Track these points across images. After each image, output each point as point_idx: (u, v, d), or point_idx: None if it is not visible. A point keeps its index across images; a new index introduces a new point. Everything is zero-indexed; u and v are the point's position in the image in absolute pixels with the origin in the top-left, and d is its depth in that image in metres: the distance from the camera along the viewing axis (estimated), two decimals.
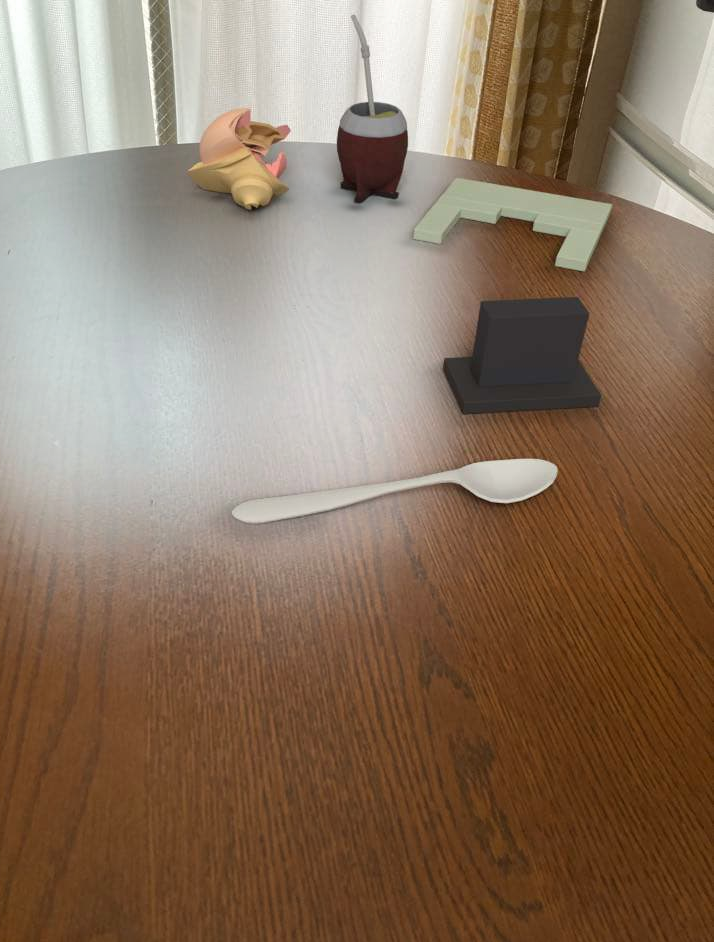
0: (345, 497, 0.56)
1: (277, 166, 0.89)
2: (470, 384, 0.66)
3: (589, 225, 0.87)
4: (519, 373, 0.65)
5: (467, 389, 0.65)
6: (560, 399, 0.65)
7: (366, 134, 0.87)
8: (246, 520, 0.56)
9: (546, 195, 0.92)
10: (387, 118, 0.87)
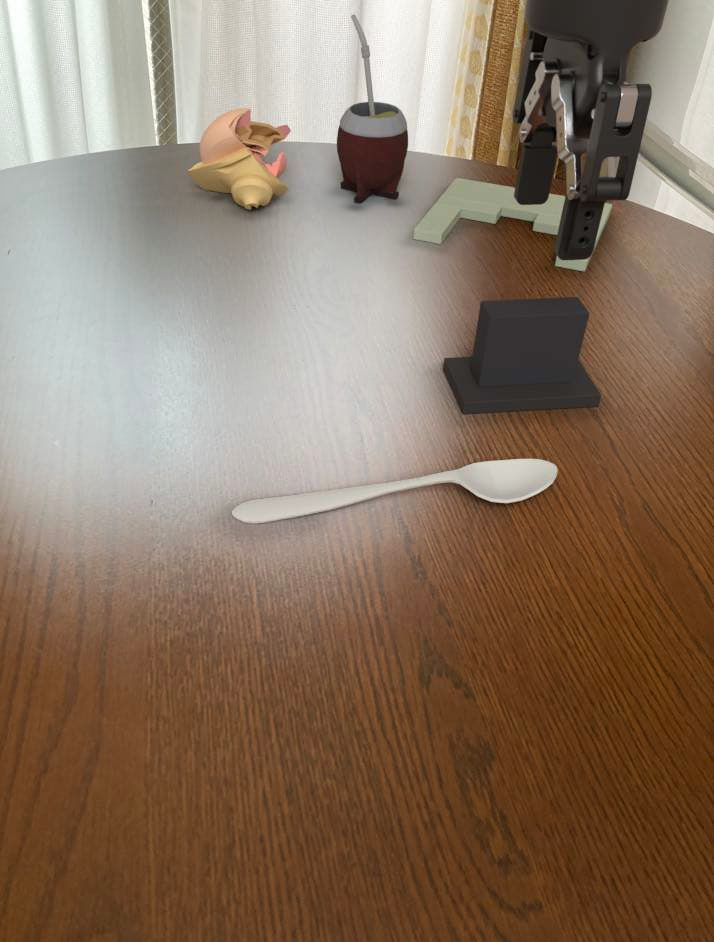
0: (345, 497, 0.56)
1: (277, 166, 0.89)
2: (470, 384, 0.66)
3: None
4: (519, 373, 0.65)
5: (467, 389, 0.65)
6: (560, 399, 0.65)
7: (366, 134, 0.87)
8: (246, 520, 0.56)
9: None
10: (387, 118, 0.87)
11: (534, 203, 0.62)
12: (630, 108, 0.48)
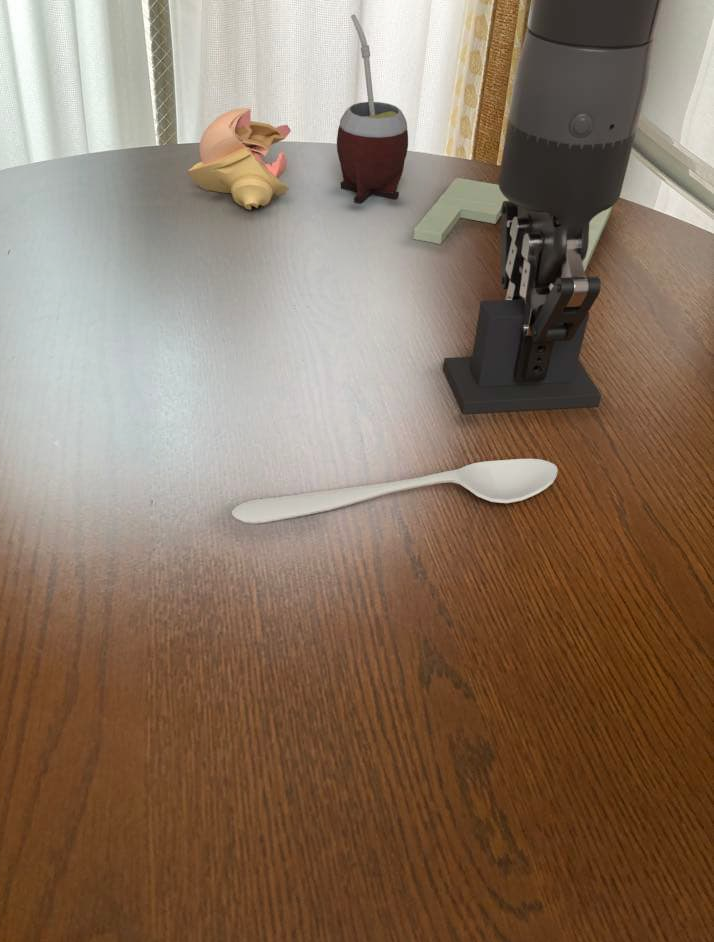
0: (345, 497, 0.56)
1: (277, 166, 0.89)
2: (470, 384, 0.66)
3: (589, 225, 0.87)
4: None
5: (467, 389, 0.65)
6: (560, 399, 0.65)
7: (366, 134, 0.87)
8: (246, 520, 0.56)
9: None
10: (387, 118, 0.87)
11: None
12: (579, 299, 0.56)
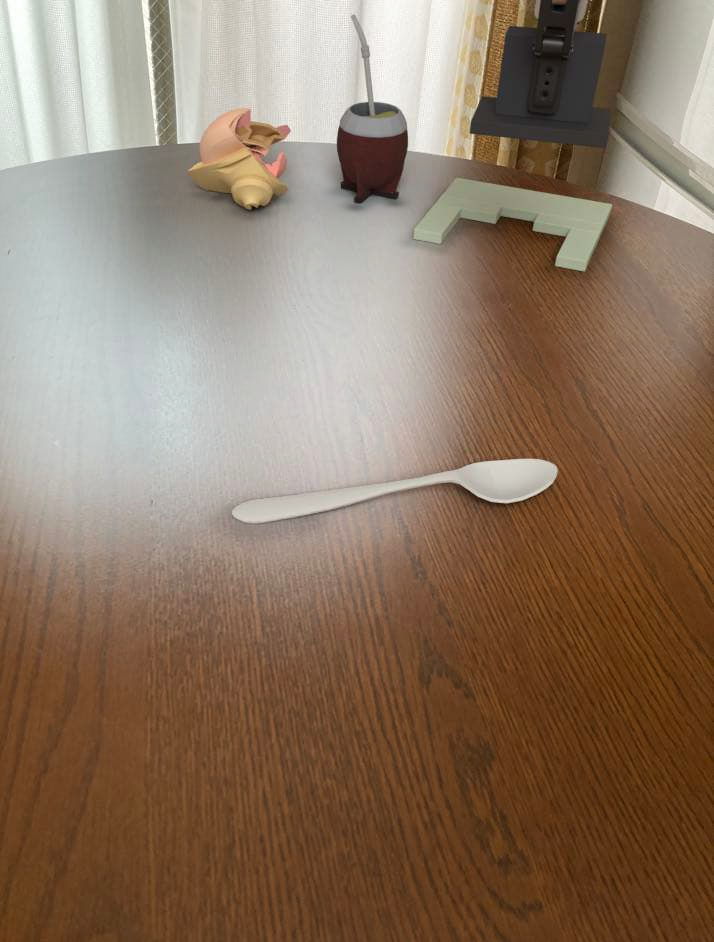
0: (345, 497, 0.56)
1: (277, 166, 0.89)
2: (488, 112, 0.70)
3: (589, 225, 0.87)
4: None
5: (482, 114, 0.70)
6: (566, 132, 0.67)
7: (366, 135, 0.87)
8: (246, 520, 0.56)
9: (546, 195, 0.92)
10: (387, 118, 0.87)
11: None
12: None
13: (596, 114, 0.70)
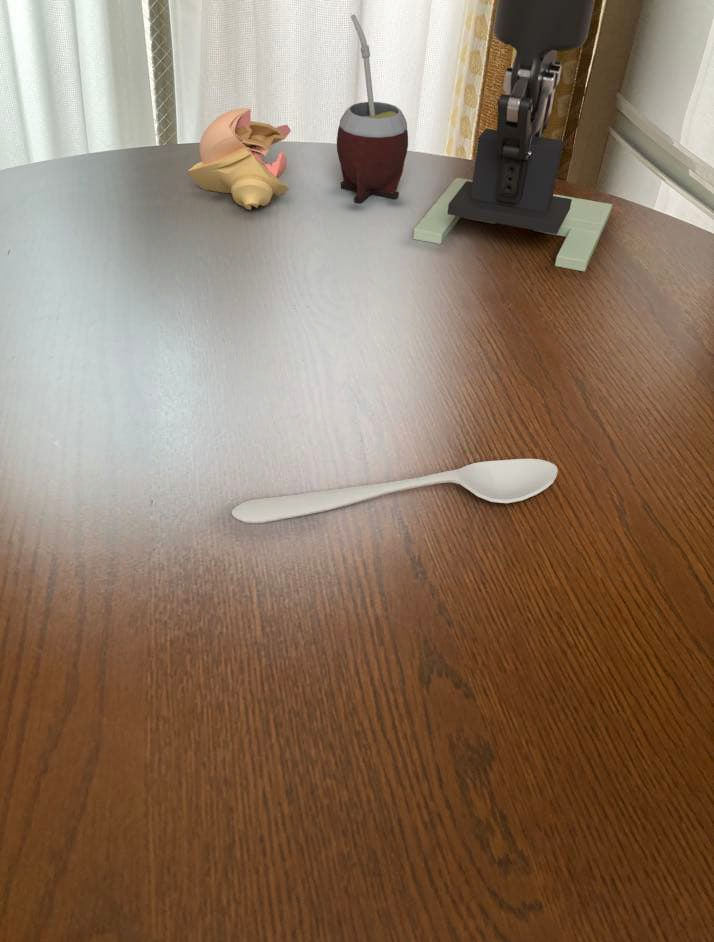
0: (345, 497, 0.56)
1: (277, 166, 0.89)
2: (466, 196, 0.84)
3: (589, 225, 0.87)
4: None
5: (460, 198, 0.84)
6: (524, 219, 0.81)
7: (366, 135, 0.87)
8: (246, 520, 0.56)
9: None
10: (387, 118, 0.87)
11: None
12: (514, 114, 0.73)
13: (556, 203, 0.83)
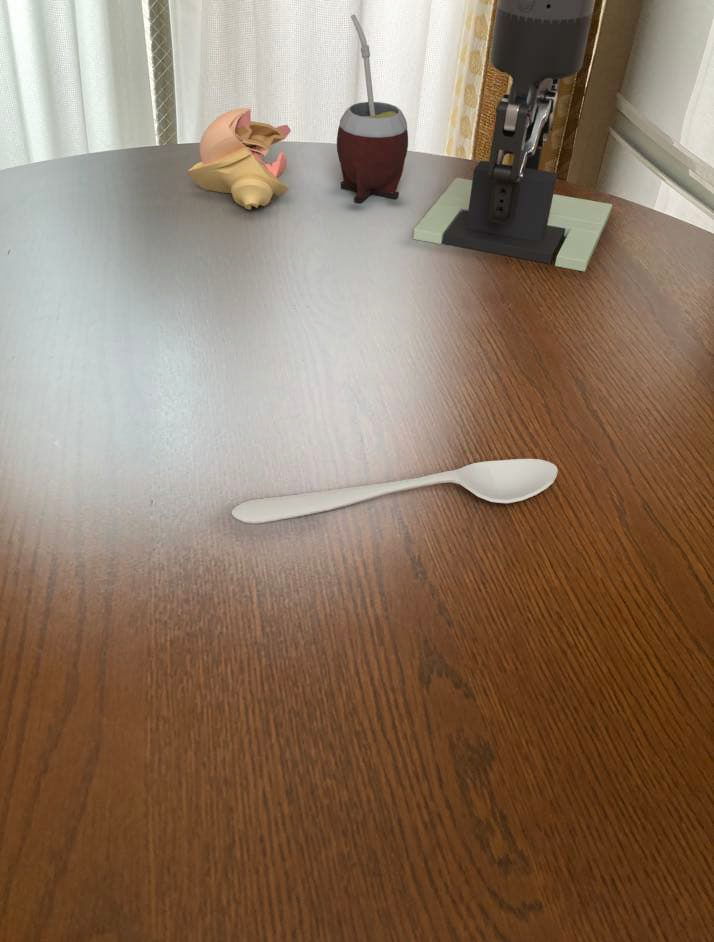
0: (345, 497, 0.56)
1: (277, 166, 0.89)
2: (461, 226, 0.86)
3: (589, 225, 0.87)
4: (497, 224, 0.84)
5: (456, 227, 0.86)
6: (519, 249, 0.83)
7: (366, 134, 0.87)
8: (246, 520, 0.56)
9: None
10: (387, 118, 0.87)
11: None
12: (513, 119, 0.73)
13: (550, 233, 0.85)
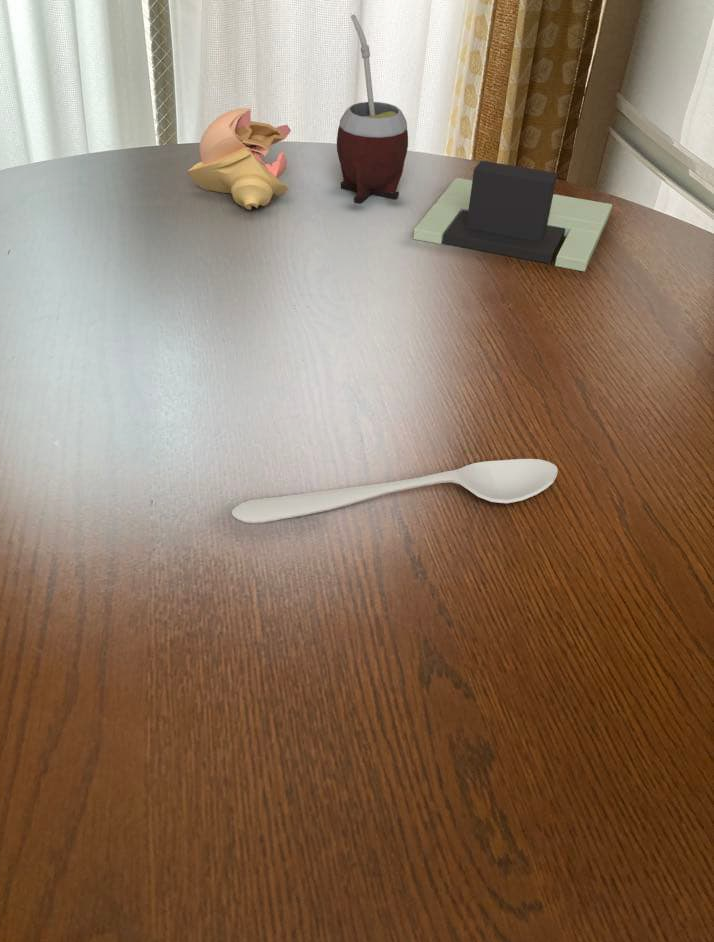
0: (345, 497, 0.56)
1: (277, 166, 0.89)
2: (461, 226, 0.86)
3: (589, 225, 0.87)
4: (497, 224, 0.84)
5: (456, 227, 0.86)
6: (519, 249, 0.83)
7: (366, 134, 0.87)
8: (246, 520, 0.56)
9: None
10: (387, 118, 0.87)
11: None
12: None
13: (550, 233, 0.85)
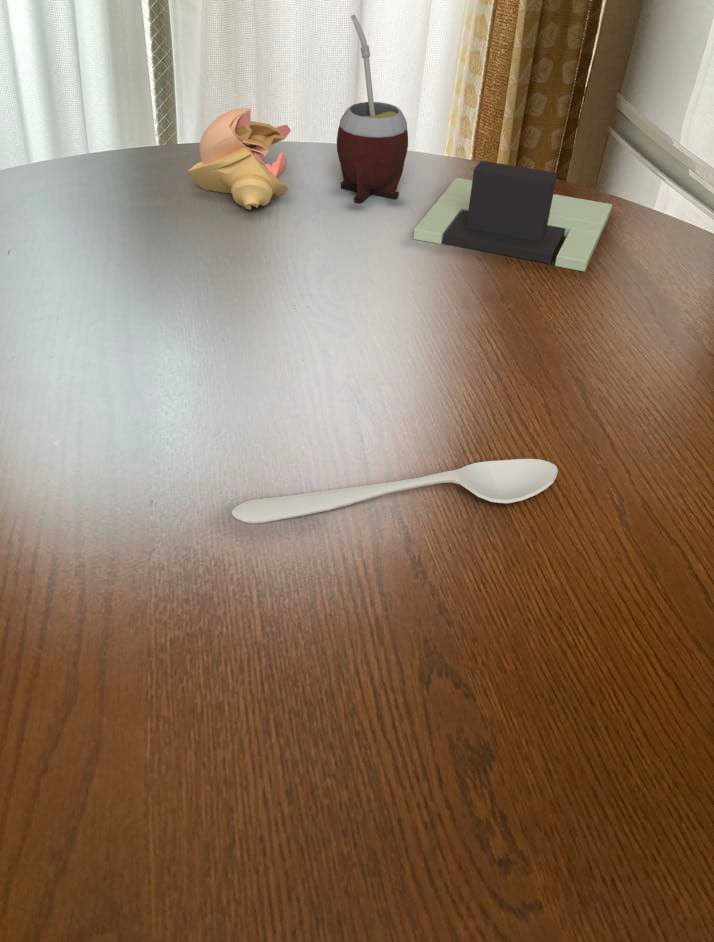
0: (345, 497, 0.56)
1: (277, 166, 0.89)
2: (461, 226, 0.86)
3: (589, 225, 0.87)
4: (497, 224, 0.84)
5: (456, 227, 0.86)
6: (519, 249, 0.83)
7: (366, 134, 0.87)
8: (246, 520, 0.56)
9: None
10: (387, 118, 0.87)
11: None
12: None
13: (550, 233, 0.85)
